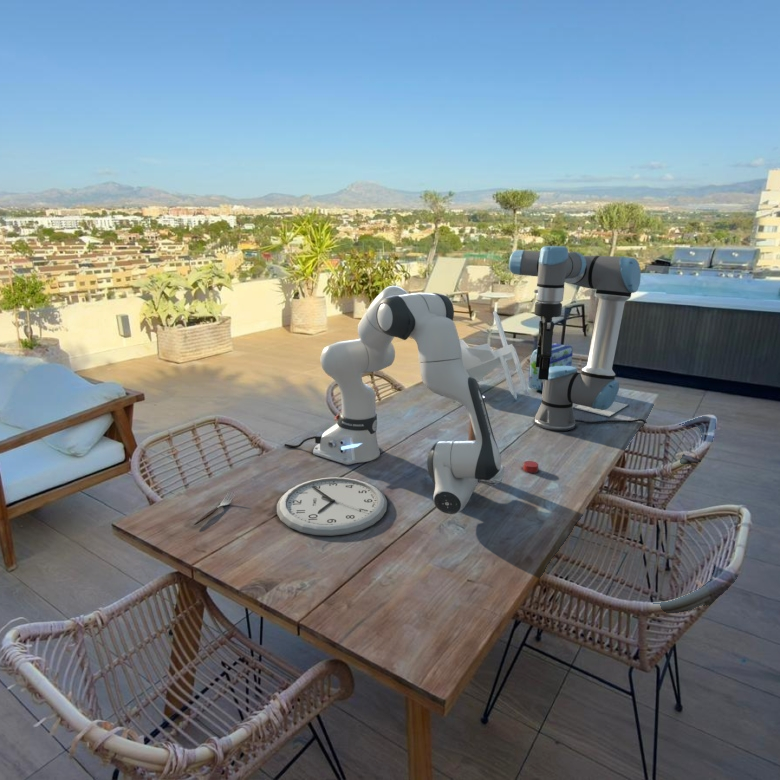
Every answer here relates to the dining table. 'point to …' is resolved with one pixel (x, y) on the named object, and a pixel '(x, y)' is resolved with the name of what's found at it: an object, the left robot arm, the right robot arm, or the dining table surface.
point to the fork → (223, 503)
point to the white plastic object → (492, 360)
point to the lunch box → (558, 358)
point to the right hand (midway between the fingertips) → (541, 373)
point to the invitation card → (608, 412)
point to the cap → (530, 466)
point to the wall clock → (331, 506)
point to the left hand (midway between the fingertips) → (473, 458)
